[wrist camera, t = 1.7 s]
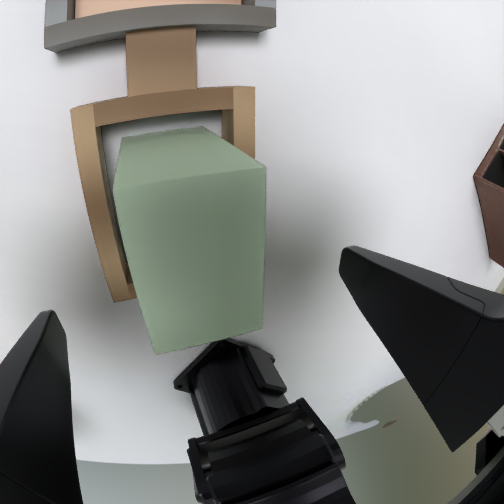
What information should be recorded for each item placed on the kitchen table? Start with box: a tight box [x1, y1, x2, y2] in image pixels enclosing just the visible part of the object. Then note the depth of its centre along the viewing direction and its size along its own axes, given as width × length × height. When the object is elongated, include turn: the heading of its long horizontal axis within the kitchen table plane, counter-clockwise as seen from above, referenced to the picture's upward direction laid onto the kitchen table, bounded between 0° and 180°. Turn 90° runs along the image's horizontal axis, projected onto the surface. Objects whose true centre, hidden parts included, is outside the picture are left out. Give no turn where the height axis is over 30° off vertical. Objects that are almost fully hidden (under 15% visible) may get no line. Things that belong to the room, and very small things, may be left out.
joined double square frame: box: [44, 0, 276, 303], centre depth 12 cm, size 21×10×2 cm, turn 0°
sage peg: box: [113, 126, 266, 355], centre depth 12 cm, size 6×4×8 cm, turn 0°
